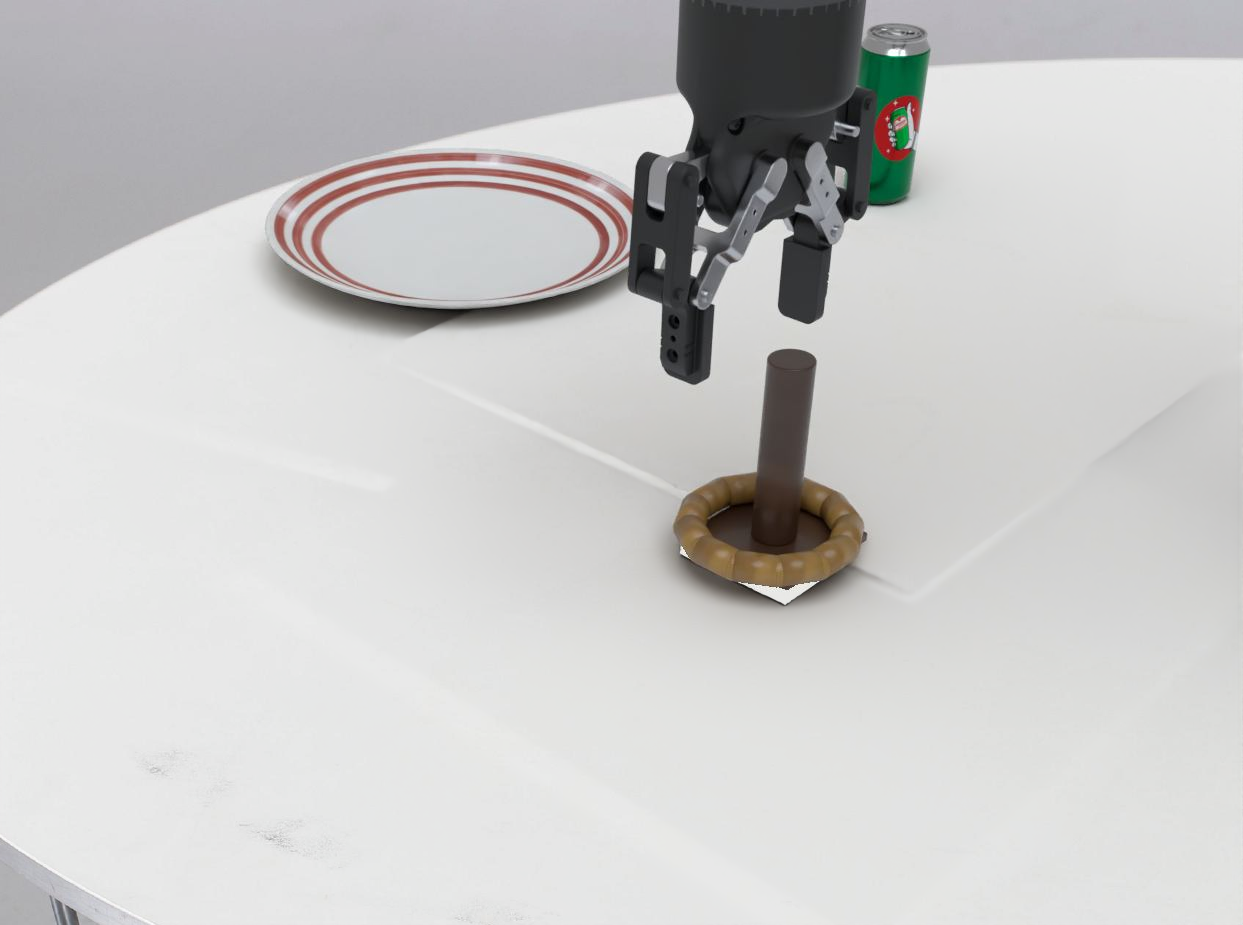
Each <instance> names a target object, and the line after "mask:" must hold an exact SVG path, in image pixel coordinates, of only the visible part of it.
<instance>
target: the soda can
mask: <svg viewBox="0 0 1243 925" xmlns="http://www.w3.org/2000/svg"><path fill="white" fill-rule="evenodd" d="M928 36H929V34H928V31H927V30H926V29H924V28H923V27H921V26H918V25H914V24H908V23H900V22H899V23H898V22H889V23H879V24H875V25H873V26H870V27H869V28H867V30H866V36H865V38H864V39H862V43H861V52H860V61H859V70H858V78H857V86H861V87H862V88H866V89H870V90H874V91H875V92H876V93H877V110H876V121H875V132H874V143H873V155H872V166H871V177H870V188H869V199H868V205H878V204H879V205H880V204H882V205H890V204H894V203H895V204H896V203H899V202H900V201H902V200H903V199H904V198H905V197H907V195H909V193H910V192H911V189H912V183H913V175H914V169H915V168H914V167H915V161H916V154H917V147H918V141H919V133H920V126H921V119H922V113H923V105H924V99H925V92H926V85H927V77H928V70H929V64H930V57H931V48H932V47H931V46H930V44H929V42H928V39H927V38H928ZM844 170H845V169H844ZM847 177H848V175H847V171H846V170H845V171H844V178H843V179H844V180H843V188H844V189H847Z"/></svg>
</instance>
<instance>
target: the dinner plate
mask: <svg viewBox="0 0 1243 925" xmlns="http://www.w3.org/2000/svg"><path fill="white" fill-rule="evenodd" d="M633 196H634V189H632V188H631V187H630V186H628V185H627V184H625V183H623V182H622V181H620V180H618V179H617V178H614V177H613V176H611V175H609V174H607V173H604V172H602V171H599V170H597V169H594V168H591V167H589V166H586V165H583V164H580V163H577V162H573V161H569V160H566V159H562V158H557V157H553V156H550V155H549V156H548V155H543V154H537V153H533V152H532V153H531V152H524V151H515V150H508V149H507V150H505V149H497V148H496V149H495V148H477V147H476V148H474V147H441V148H440V147H439V148H423V149H422V148H421V149H408V150H399V151H393V152H387V153H386V152H385V153H380V154H375V155H369V156H366V157H362V158H358V159H357V158H356V159H353V160H350V161H346V162H342V163H340V164H337V165H334V166H331V167H329V168H326V169H324V170H321V171H319V172H316V173H313V174H312V175H310V176H308V177H306V178H304V179H302V180H301V181H299V182H297V183H295V185H293V186H292V187H289V189H287V191H285V192H284V193H283V194H281V195H280V196H279V197H278V198H277V199H276V201H275V202H274V203H273V204H272V206H271V207H270V209H269V211H268V212H267V215H266V219H265V223H264V232H265V237H266V239H267V241H268V244H269V246H270V247H271V249H272V250H273V251H274V252H275V254H276V255H277V256H278V257H279V258H280V259H281V260H283V261H284V262H285V263H286V264H287V265H289V266H291V267H292V268H294V269H295V270H297V271H298V272H300V273H302V275H304V276H306V277H308V278H310V279H311V280H314V281H315V282H316V281H317V282H319V283H321V284H322V285H325V286H327V287H330V288H333V289H335V290H338V291H341V292H343V293H346V294H349V295H353V296H357V297H360V298H364V299H366V300H367V299H368V300H372V301H376V302H381V303H387V304H393V305H399V306H408V307H416V308H425V309H436V310H476V309H483V308H495V307H504V306H511V305H517V304H524V303H529V302H533V301H538V300H543V299H546V298H551V297H555V296H559V295H562V294H567V293H571V292H576V291H578V290H581V289H584V288H586V287H590V286H592V285H595V284H597V283H599V282H602V281H604V280H606V279H609V278H610V277H613V276H614V275H616V274H619V273H620V272H621V271H623V270H624V269H626V268H628V267H629V253H630V238H631V224H632V210H633Z"/></svg>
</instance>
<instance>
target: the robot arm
mask: <svg viewBox="0 0 1243 925" xmlns="http://www.w3.org/2000/svg"><path fill="white" fill-rule="evenodd" d="M866 7H867V0H679V4H678V26H677V27H678V28H677V46H676V47H677V51H676V68H675V70H676V71H675V82H676V86H677V89H678V91H679V93H680V94H681V96H682V97H683V98H684V100H685V101H686V103H687V104H688V106H689V108H690V109H691V112H692V117H693V118H692V120H693V121H692V126H691V127H692V128H691V131H690V135H689V138H688V141H687V144H686V146H685V150H684V151H683V152H680V153H677V154H674V155H671V156H668V157H667V156H665V155H661V154H659V153H655V152H652V151H644V152H643V153H642V154H641V155H640V156H639V157H638V159H637V161H636V163H635V167H634V168H635V169H634V182H633V191H634V196H633V210H632V224H631V238H630V253H629V266H628V267H627V269H628V270H627V284H626V285H627V289H628V291H629V292H630V293H632V294H635V295H638V296H640V297H642V298H645V299H648V300H650V301H653V302H656V303H658V304H660V305H661V326H660V337H661V338H660V347H659V349H660V350H659V360H660V363H661V367H662V368H663V370H664V372H665V373H666V375H668V376H670V377H671V378H675V379H677V380H679V381H682V382H684V383H686V384H688V385H691V386H696V385H698V384H700V383H702V382H704V381H706V380H708V379H709V378H710V375H711V370H712V369H711V367H712V355H713V354H712V352H713V340H714V339H713V337H714V324H715V323H714V322H715V308H716V304H713V301H714V299H715V296H716V294H717V292H718V290H719V287H720V285H721V283H722V281H723V279H724V276H725V274H726V272H727V270H728V268H729V267H730V265H732V264H735V263H738V262H739V261H741V260H742V259H743V257H744V256H745V254H746V252H747V249H748V248H749V245H750V243H751V241H752V239H753V236H754V235H755V234H756V233H758V232H760V231H762V230H764V229H765V228H766V227H767V226H768V225H769V224H771V223H772V222H773V221H774V220H777V221H778V220H782V221H783V223H784V225H785V227H786V229H787V231H788V232H791V233H793V234H791V235H789V236H787V237H785V238H783V241H782V242H783V243H782V253H781V263H780V275H779V287H778V297H777V309H778V311H779V313H780V314H781V315H782V316H783V317H786V318H789V319H792V320H794V321H796V322H800V323H803V324H806V325H811V324H813V323H815V322H817V321H818V320H820V319H821V318H822V317H823V316H824V313H825V304H826V298H827V295H828V288H829V277H830V274H829V273H830V270H831V259H832V252H833V251H832V250H833V245H836V244H837V243H838V242H839V241H840V240H841V238H842V237H843V234H844V230H845V224H846V223H847V221H849V220H853V221H860V220H861V219H862V218H863V217H864V216H865V214H866V213H867V210H868V206H869V204H868V199H869V188H870V177H871V166H872V155H873V143H874V132H875V121H876V110H877V93H876V92H875V91H874V90H870V89H866V88H862V87H861V86H857V78H858V70H859V61H860V52H861V43H862V42H863V35H864V25H865V16H866V9H867V8H866ZM836 167H839V168H842V169H844V170H846V171H847V175H848V177H847V189H845V188H844V187H840V186H838V185H837V186H836V182H835V180H836ZM704 211H705V213H706V215H707V216H708V217H709V219H710V220H712V221H713V222H714V223H715V224H717V225H719V226H722V227H725V228H726V229H725V230H723V231H720V232H716V231H713V230H710V229H708V228H705V227H701V226H699V221H700V219H701V218H702V215H703V213H704ZM657 249H660V250H661V251H662V252H663V253H664V258H663V260H662V263H661V265H660V266H659V268H656V255H657ZM696 252H703V253H706V255H705V257H704V259H703V262H702V263H701V266H700V268H699V271H698V273H697V275H696V276H695V275H693V274H692V262H693V255H694V254H695V253H696Z"/></svg>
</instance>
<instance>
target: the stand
mask: <svg viewBox="0 0 1243 925" xmlns="http://www.w3.org/2000/svg"><path fill="white" fill-rule="evenodd" d="M817 363H818V360H817V357H816V356H815V355H813V353H811V352H808V351H807V350H803V349H798V348H780V349H777V350H774V351H772V352H771V353H769V354H768V356H767V357H766V367H765V378H764V387H763V399H762V409H761V419H760V420H761V422H760V432H759V442H758V454H757V464H756V472H757V474H756V484H755V495H754V503H747V504H740V505H733V506H727V507H725V508H724V509H722V510H720V511H719V512H717V513H715V514H713V515H712V516H710V517H709V518H708V521H707V524H706V526H707V528H708V530H709V531H710V533H711V534H712V536H713V537H715V538H717V539H719V540H721V541H723V542H725V543H727V544H729V545H731V546H733V547H735V548H737V549H739V550H744V551H751V552H758V553H765V554H772V555H782V554H789V553H795V552H802V551H808V550H813V549H814V548H816V547H817V546H819V545H821V544H822V543H824V542H825V541H827V540H829V539H830V535H831V529H830V528H829V527H828V526H827V524H826V523H825V522H824V520H823V519H822V518H820V517H818V516H816V515H813V514H811V513H809V512H807V511H805V510H803V509H800V505H801V497H802V488H803V479H804V477H805V470H806V461H807V452H808V443H809V434H810V426H811V417H812V416H811V415H812V409H813V399H814V392H815V391H814V389H815V381H816V372H817V366H818V364H817ZM867 538H868V532H867V531H865V530H864V532H863V536H862V541H861V545H862V544H863V543H864V542H866V541H867V540H868V539H867ZM794 586H795V585H791V586H785V587H779V588H782V589H785V590H789V589H790V588H792V587H794Z"/></svg>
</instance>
